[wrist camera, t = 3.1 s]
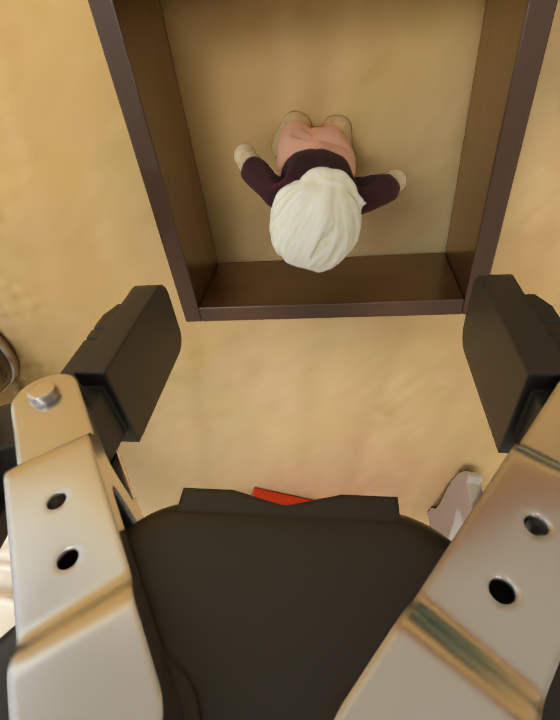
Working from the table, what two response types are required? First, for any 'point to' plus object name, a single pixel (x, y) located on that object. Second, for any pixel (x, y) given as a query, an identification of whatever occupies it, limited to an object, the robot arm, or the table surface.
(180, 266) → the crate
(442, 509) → the grey flat fragment
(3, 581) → the honey pot
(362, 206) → the grandmother figurine
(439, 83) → the table surface
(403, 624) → the robot arm
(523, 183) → the table surface
